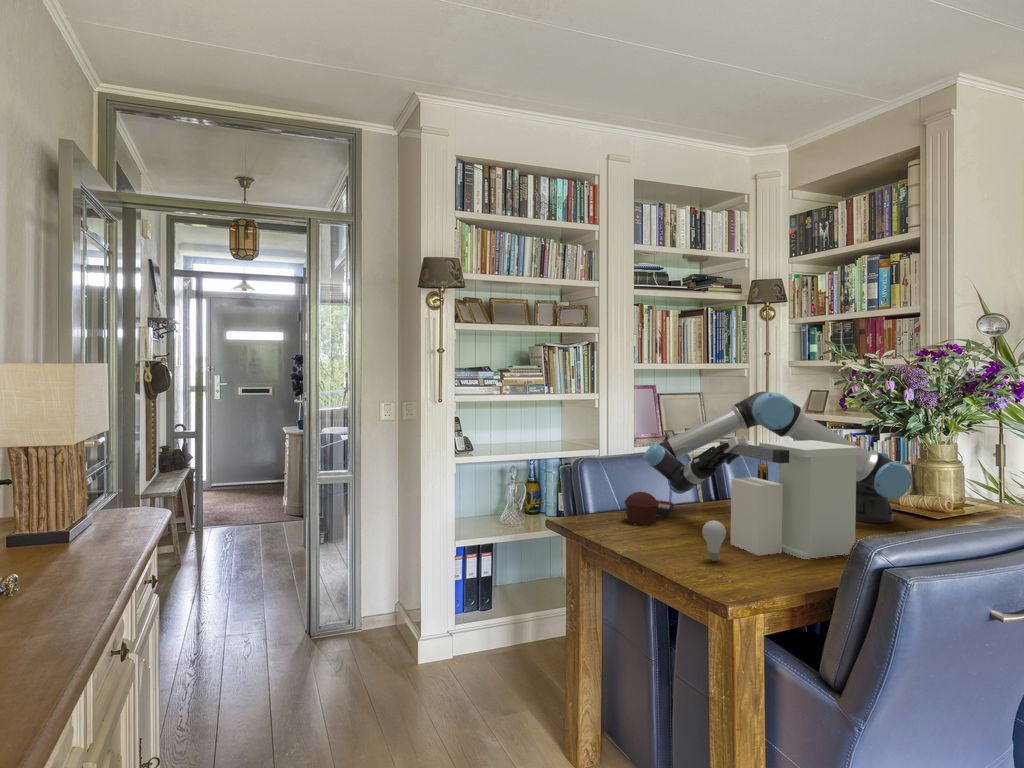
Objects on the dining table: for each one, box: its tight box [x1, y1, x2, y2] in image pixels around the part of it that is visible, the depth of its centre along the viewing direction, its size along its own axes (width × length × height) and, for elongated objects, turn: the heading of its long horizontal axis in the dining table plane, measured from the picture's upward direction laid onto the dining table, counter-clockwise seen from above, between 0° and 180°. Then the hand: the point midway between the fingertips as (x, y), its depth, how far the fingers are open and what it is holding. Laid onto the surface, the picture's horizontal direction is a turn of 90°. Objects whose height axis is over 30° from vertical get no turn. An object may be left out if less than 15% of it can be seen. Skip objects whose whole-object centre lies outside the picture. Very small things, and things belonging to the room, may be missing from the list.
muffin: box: [624, 491, 659, 526], centre depth 215 cm, size 12×11×10 cm
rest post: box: [730, 476, 783, 557], centre depth 184 cm, size 12×8×20 cm, turn 18°
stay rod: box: [719, 440, 789, 464], centre depth 185 cm, size 26×3×3 cm, turn 18°
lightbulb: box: [701, 519, 727, 562], centre depth 172 cm, size 6×6×11 cm
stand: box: [759, 440, 863, 560], centre depth 184 cm, size 18×20×30 cm
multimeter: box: [757, 459, 769, 481], centre depth 257 cm, size 15×10×20 cm
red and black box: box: [656, 499, 674, 517], centre depth 231 cm, size 11×4×15 cm
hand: (741, 440), depth 190 cm, fingers closed on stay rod, 3 cm apart
